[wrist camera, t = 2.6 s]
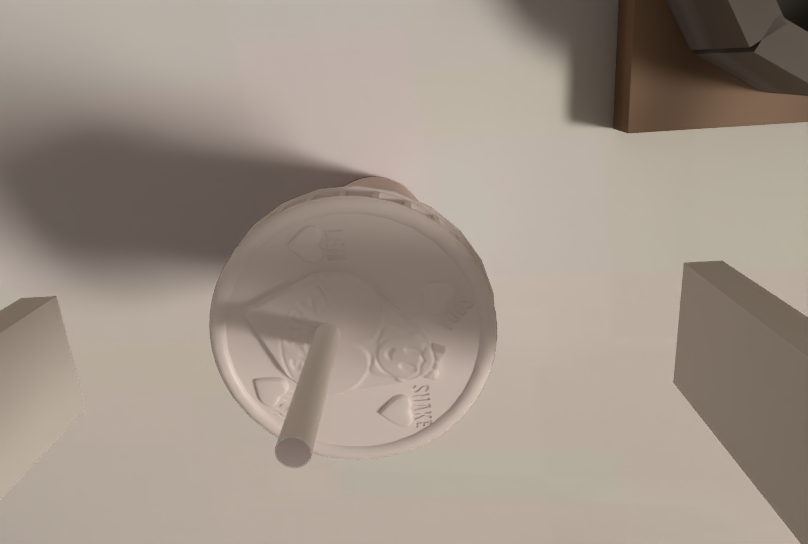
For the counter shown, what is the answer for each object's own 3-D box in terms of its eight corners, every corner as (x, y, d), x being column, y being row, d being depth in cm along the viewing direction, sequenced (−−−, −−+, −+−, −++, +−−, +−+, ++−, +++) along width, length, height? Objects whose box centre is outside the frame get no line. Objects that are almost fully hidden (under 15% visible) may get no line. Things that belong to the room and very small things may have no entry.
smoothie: (311, 114, 21) (151, 200, 8) (487, 168, 22) (609, 330, 9) (270, 282, 23) (89, 573, 10) (433, 327, 24) (464, 659, 11)
